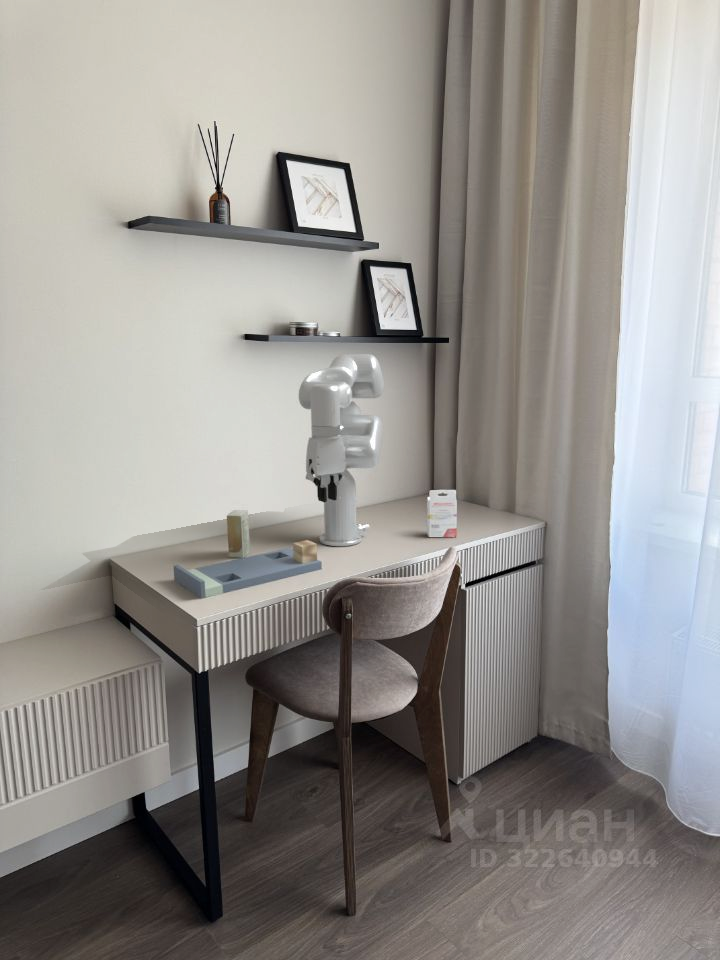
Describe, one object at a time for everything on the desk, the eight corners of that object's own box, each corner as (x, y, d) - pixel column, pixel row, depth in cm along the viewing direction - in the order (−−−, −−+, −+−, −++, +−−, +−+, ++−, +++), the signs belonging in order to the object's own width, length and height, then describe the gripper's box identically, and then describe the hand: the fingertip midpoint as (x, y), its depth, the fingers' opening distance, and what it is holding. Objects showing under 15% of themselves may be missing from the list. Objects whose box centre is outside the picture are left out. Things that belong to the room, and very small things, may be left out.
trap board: (289, 554, 200) (289, 540, 199) (321, 568, 187) (321, 554, 187) (174, 580, 180) (173, 565, 179) (201, 598, 167) (200, 582, 167)
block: (307, 556, 192) (307, 540, 191) (317, 560, 188) (316, 543, 187) (293, 559, 189) (292, 543, 188) (302, 563, 186) (302, 546, 185)
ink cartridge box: (454, 533, 219) (455, 486, 216) (456, 537, 214) (457, 490, 211) (426, 533, 219) (426, 486, 216) (428, 538, 214) (428, 490, 211)
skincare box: (235, 551, 204) (233, 509, 202) (250, 551, 203) (248, 509, 201) (228, 557, 198) (225, 515, 195) (243, 558, 197) (241, 515, 195)
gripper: (342, 427, 194) (343, 493, 198) (291, 433, 185) (294, 502, 188) (359, 430, 188) (360, 498, 192) (307, 436, 179) (309, 507, 182)
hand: (327, 499), depth 190 cm, fingers closed
